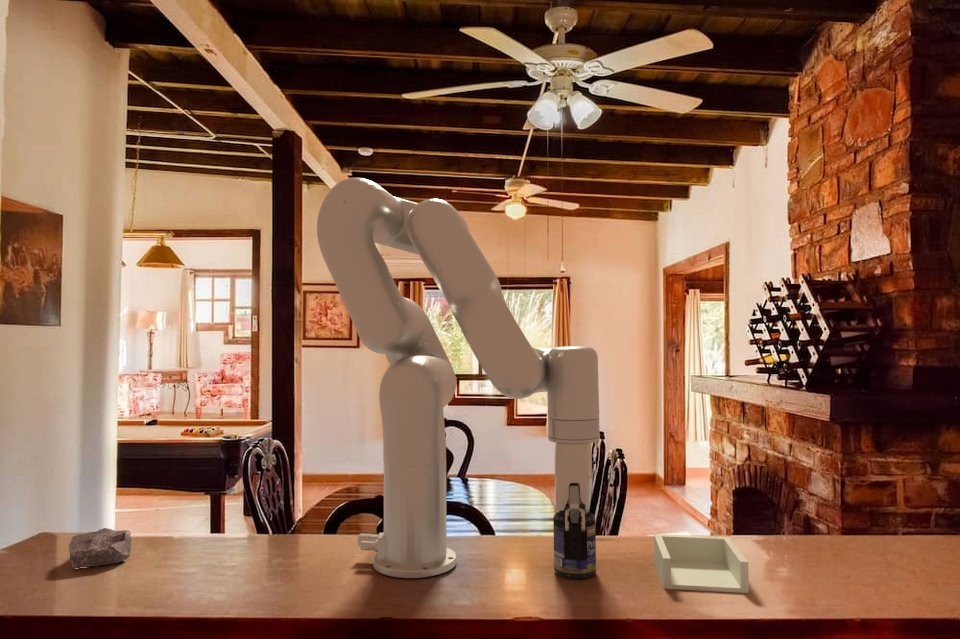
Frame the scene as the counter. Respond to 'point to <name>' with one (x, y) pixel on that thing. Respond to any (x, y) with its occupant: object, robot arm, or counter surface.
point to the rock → (99, 548)
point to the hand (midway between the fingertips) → (576, 547)
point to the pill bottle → (574, 567)
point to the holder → (700, 563)
